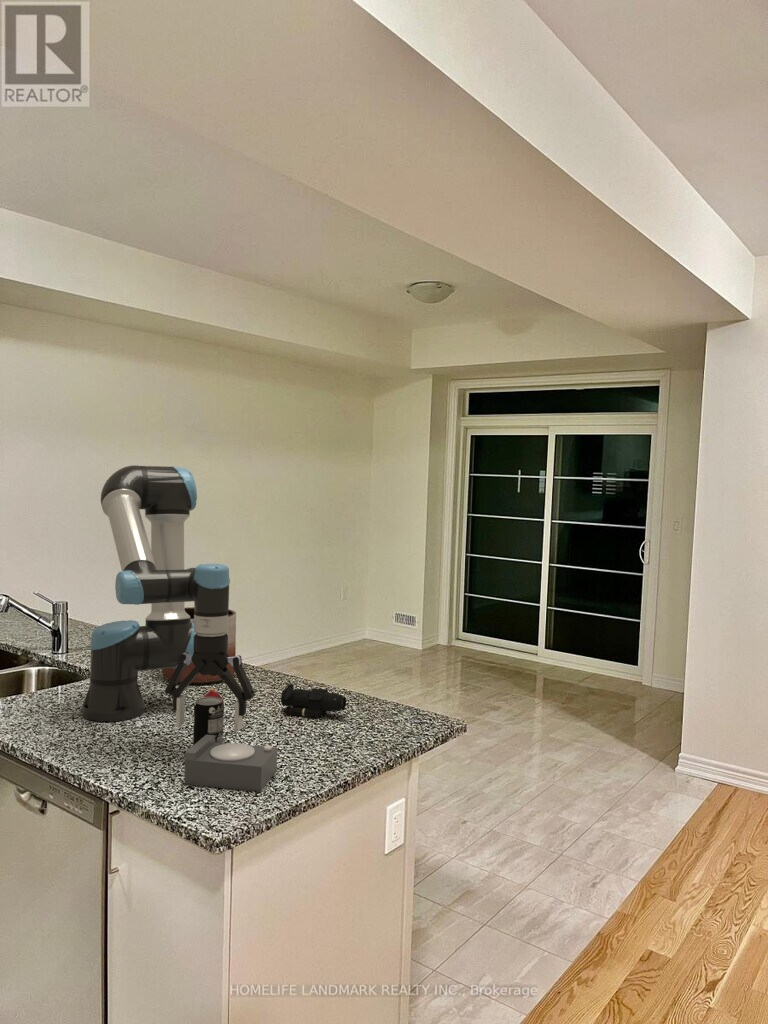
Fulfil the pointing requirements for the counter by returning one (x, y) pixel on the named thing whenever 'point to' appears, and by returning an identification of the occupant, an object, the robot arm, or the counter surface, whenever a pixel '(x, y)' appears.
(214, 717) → the beverage can
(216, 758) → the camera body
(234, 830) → the counter surface
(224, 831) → the counter surface
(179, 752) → the counter surface
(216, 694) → the onion
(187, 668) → the planter
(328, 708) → the night vision scope
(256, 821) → the counter surface
